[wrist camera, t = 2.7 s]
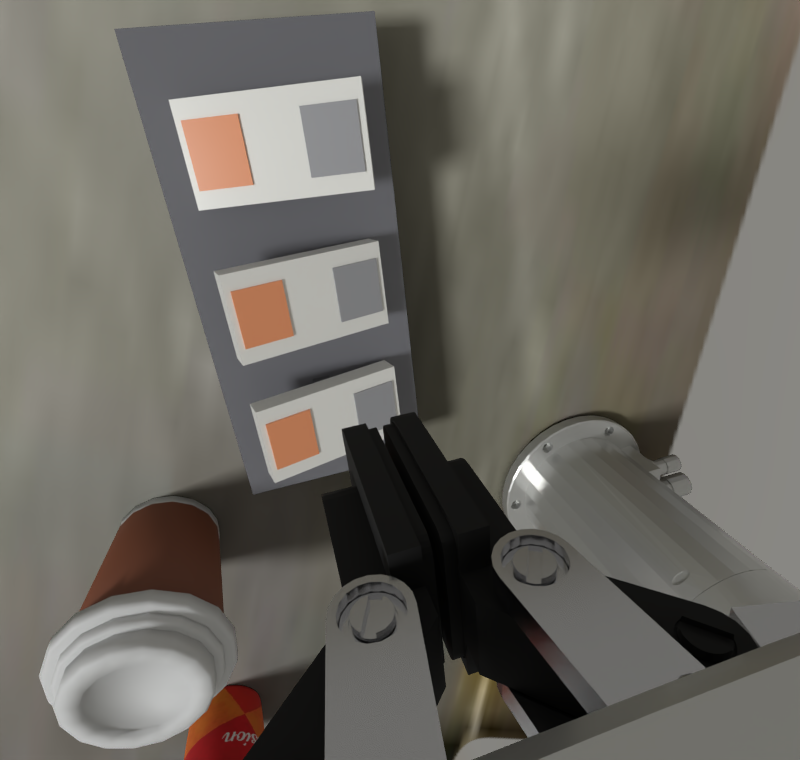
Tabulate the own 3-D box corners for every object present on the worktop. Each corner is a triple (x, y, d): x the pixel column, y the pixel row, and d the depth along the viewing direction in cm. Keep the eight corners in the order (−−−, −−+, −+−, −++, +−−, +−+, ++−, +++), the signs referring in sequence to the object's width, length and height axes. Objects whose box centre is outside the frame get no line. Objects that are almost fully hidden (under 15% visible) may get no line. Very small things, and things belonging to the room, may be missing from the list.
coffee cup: (93, 587, 34) (26, 778, 24) (96, 475, 31) (21, 637, 21) (232, 583, 38) (226, 751, 27) (247, 481, 34) (248, 625, 24)
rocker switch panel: (358, 28, 26) (379, 5, 22) (406, 426, 36) (426, 458, 32) (131, 45, 24) (109, 23, 20) (252, 463, 34) (253, 503, 30)
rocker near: (361, 78, 22) (360, 75, 20) (375, 187, 24) (374, 189, 22) (179, 101, 22) (167, 99, 21) (206, 207, 24) (198, 210, 22)
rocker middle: (367, 238, 26) (379, 241, 25) (378, 317, 28) (389, 323, 27) (213, 271, 23) (219, 275, 22) (237, 358, 25) (243, 366, 24)
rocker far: (384, 359, 29) (395, 366, 28) (392, 424, 31) (403, 432, 30) (249, 403, 26) (256, 413, 25) (268, 472, 28) (275, 484, 27)
